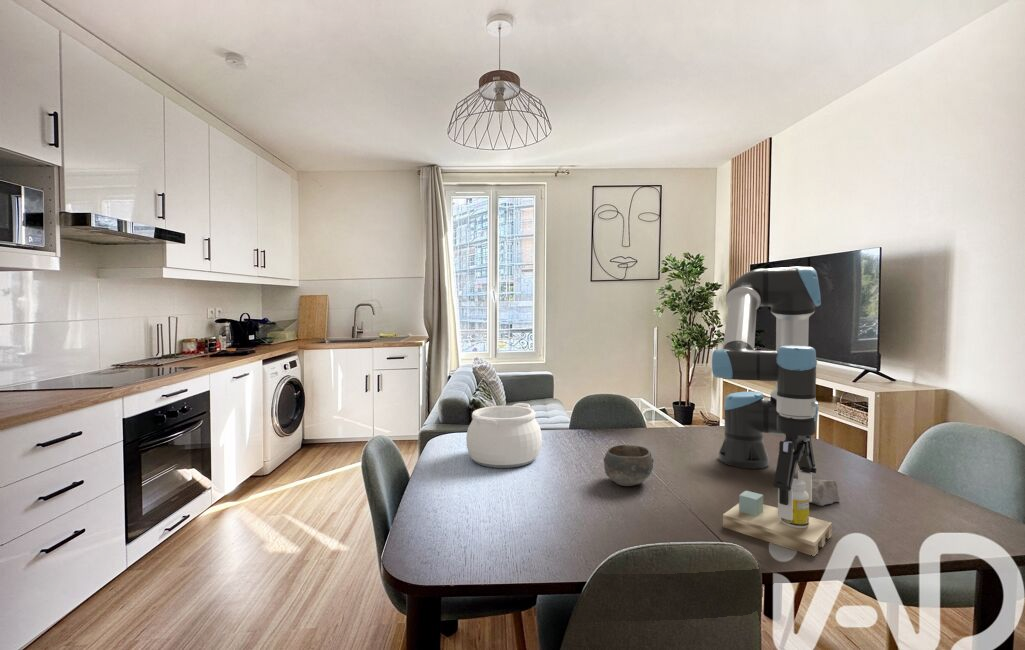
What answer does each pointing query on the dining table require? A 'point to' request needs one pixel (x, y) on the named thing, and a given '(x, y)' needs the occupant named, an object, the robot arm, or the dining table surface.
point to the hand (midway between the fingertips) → (795, 508)
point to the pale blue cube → (751, 503)
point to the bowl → (628, 464)
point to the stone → (824, 492)
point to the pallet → (779, 529)
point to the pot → (504, 436)
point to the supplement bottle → (799, 506)
